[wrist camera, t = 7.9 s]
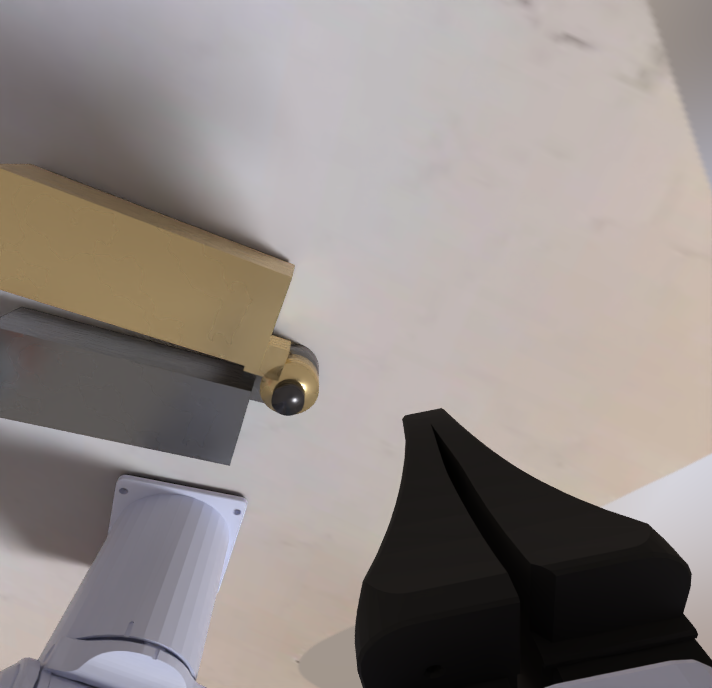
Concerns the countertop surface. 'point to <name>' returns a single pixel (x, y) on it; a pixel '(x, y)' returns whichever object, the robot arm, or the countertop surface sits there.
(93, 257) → the swing leaf
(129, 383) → the fixed leaf
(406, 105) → the countertop surface
